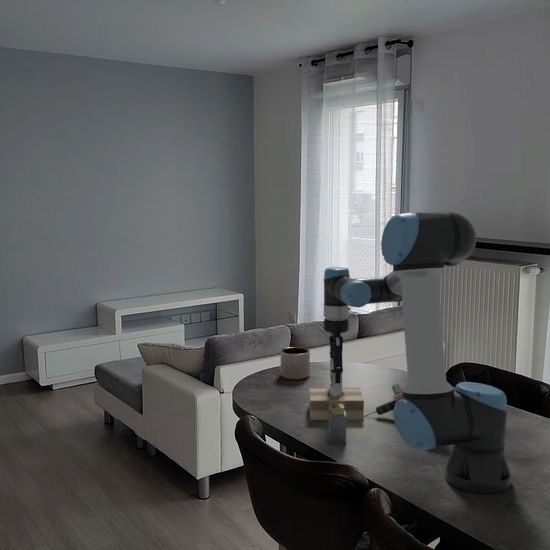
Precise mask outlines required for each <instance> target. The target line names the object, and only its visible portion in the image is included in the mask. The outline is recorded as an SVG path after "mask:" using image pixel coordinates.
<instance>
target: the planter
mask: <svg viewBox="0 0 550 550" xmlns="http://www.w3.org/2000/svg"><path fill="white" fill-rule="evenodd" d="M310 352H311V351H310V349H308V348H306V347H303V346H302V347H301V346H288V347H284V348H282V349H280V366H279V367H280V371H279V372H280V373H279V374H280V376H281V377H282V378H284V379H287V380H295V381H296V380H297V381H299V380H303V379H306V378H309V377H310V375H311V362H310V361H311V358H310V357H311V356H310V354H311V353H310Z"/></svg>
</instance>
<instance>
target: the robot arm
mask: <svg viewBox="0 0 550 550" xmlns="http://www.w3.org/2000/svg"><path fill="white" fill-rule="evenodd" d="M380 242H381V243H380V245H381V246H380V249H381V254H382V257H383V259H384V261H385V262H386V263H387V264H389V265H390V266H392V271H391V272H390V273H388V274H387V275H386V276H379V277H377V276H375V277H361V278H360V277H359V278H352V277H351V276H350V270H349V268H347V267H343V266H331V267H327V268H325V269H324V272H323V273H324V274H323V275H324V276H323V317H324V319H323V330H324V332H326V333H330V335H329V337H328V340H329V358H330V359H329V380H331V375H332V374H333V393H342V388H343V372H344V369H343V349H344V347H343V346H344V345H343V344H344V337H343V335H341V334H342V333H347V332H349V329H350V325H349V324H350V323H349V321H350V320H349V316H350V314H349V313H350V312H349V311H351V310H352V309H351V308H357V309H358V308H363V307H365V306H366V305H370V304H382V303H400V302H401V303H402V316H403V330H404V345H405V356H406V357H405V358H406V369H407V383H406V384H405V385H404V386H403V387H402V388H401V390H402V394H403V399H400V400H399V401H397V402H396V404H395V407H394V410H393V420H394V425H395V427H396V429H397V432H398V434H399V436H400V437H401V439H402V440H403V442H404V443H405V444H406V445H407V446H408V447H410V449H413V450H419V451H420V450H433V449H435V448H441V447H447V446H452V445H453V446H452V449H451V451H450V454H449V456H448V459H447V462H446V464H445V471H444V473H445V474H444V477H445V479H446V481H448V482H449V483H450V485H452V486H454V487H456V488H458V489H461V490H463V491H467V492H471V493H475V494H484V495H485V494H488V495H489V494H497V493H502V492H504V491H507V490H508V489H509V488H510V487H511V484H512V472H511V469H510V465H509V463H508V459H507V456H506V452H505V451H506V449H505V448H506V445H505V444H506V429H507V413H508V408H507V407H508V406H507V399H508V398H507V396H506V394H505V392H504V391H503V390H501V389H499V388H497V387H494V386H492V385H489V384H484V383H478V382H471V381H460V382H458V383H457V384H456V385H455V387H454V386H452V385H451V384H450V383H449V382H448V380H447V376H446V375H447V374H446V361H445V360H446V359H445V349H444V347H445V346H444V335H443V323H442V322H443V321H442V320H443V319H442V309H441V307H442V306H441V298H440V296H441V294H440V282H439V276H440V275H441V274H442V272H444V270H445V268H447V267H455V266H457V265H459V264H461V263H462V262H463V261H465V260H466V259H468V258H469V257H470V255H472V253H473V252H474V250H475V248H476V244H477V233H476V229H475V227H474V225H473V224H472V222H471V221H470V220H469V219H468V218H467V217H465V216H464V215H462V214H460V213H456V212H453V211H445V212H444V211H443V212H440V211H439V212H407V213H406V212H405V213H399V214H396V215H393V216H392V217H391V218H390V219H389V220H388V221H387V222H386V225H385V227H384V229H383V231H382V235H381V241H380Z"/></svg>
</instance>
